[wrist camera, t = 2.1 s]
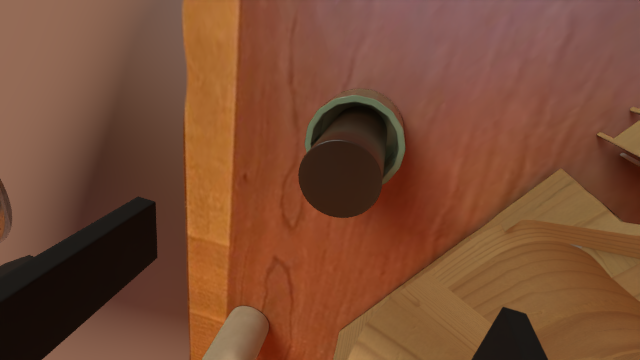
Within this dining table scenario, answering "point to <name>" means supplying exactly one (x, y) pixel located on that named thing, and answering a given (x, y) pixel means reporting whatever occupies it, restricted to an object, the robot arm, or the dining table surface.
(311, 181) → the dark brown cylinder
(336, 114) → the cup
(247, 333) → the candle
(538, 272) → the skate ramp
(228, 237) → the dining table surface
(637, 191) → the dining table surface
